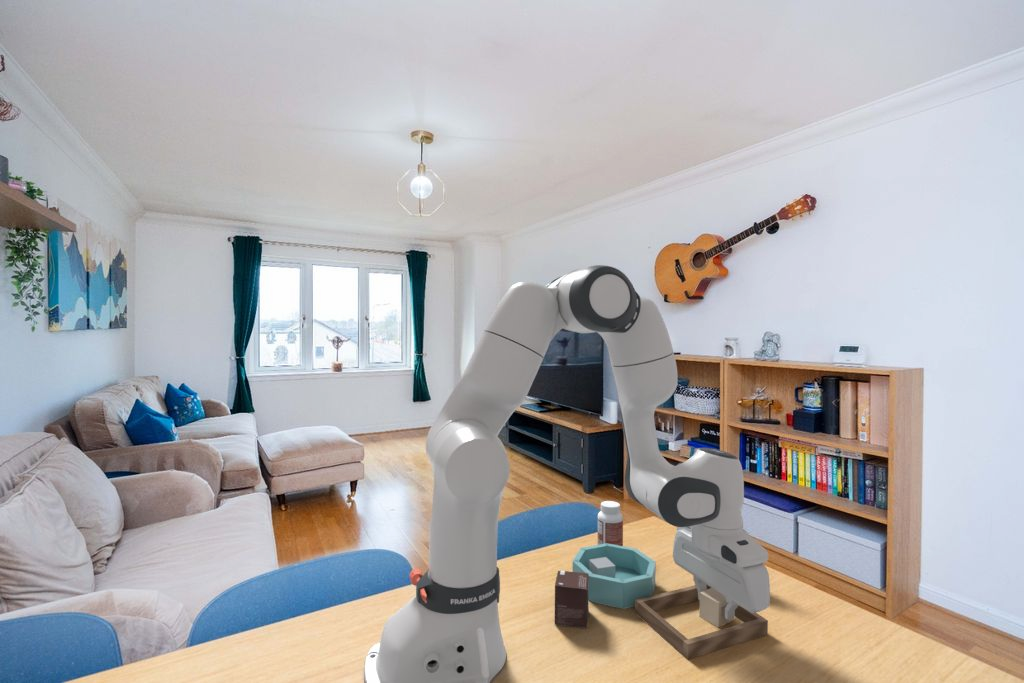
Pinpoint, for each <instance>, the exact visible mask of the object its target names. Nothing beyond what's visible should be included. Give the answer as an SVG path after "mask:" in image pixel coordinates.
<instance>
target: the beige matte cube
mask: <svg viewBox="0 0 1024 683" xmlns="http://www.w3.org/2000/svg"><path fill="white" fill-rule="evenodd" d="M727 605H728V602H726V596H724V595H723V594H721V593H720V592H718V591H717V590H715V589H714V588H710V589H707V590H705V591H703V592H700V600H699V614H698V615H699V617H700V618H701V619H703V620H705V621H707V622H708V623H710V624H712V625H713V626H715V627H717V628H721V627H722V626H724V625H726V624H729V623H731V622H732V621H733V620H729V621H728V620H727V619H726V618H724V617H723V616H722V615H721V613H722V611H721V607H723V606H725V607H726V606H727Z"/></svg>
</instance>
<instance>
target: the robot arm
mask: <svg viewBox="0 0 1024 683" xmlns="http://www.w3.org/2000/svg"><path fill="white" fill-rule="evenodd" d="M508 288H509V289H508V290H507V291H506V293H505V294H504V295H503V296H502V298H501V299H500V300H499V302H498V304H497V306H496V307H495V309H494V310H493V312H492V314H491V315H490V317H489V319H488V321H487V323H486V325H485V327H484V329H483V331H482V333H481V335H480V337H479V340H478V342H477V344H476V346H475V348H474V350H473V352H472V355H471V356H470V359H469V361H468V363H467V365H466V367H465V370H464V371H463V373H462V375H461V377H460V379H459V381H458V382H457V383H456V385H455V387H454V388H453V390H452V391H451V393H450V395H449V396H448V398H447V399H446V401H445V402H444V405H443V406H442V408H441V410H440V411H439V413H438V414H437V416H436V419H435V420H434V422H433V423H432V425H431V427H430V428H429V430H428V433H427V436H426V440H425V451H426V455H427V458H428V460H429V462H430V464H431V469H432V474H433V493H432V503H431V504H432V505H431V506H432V507H431V514H430V521H429V524H428V537H429V538H428V569H427V570H426V572H425V573H424V574H422V570H420V569H419V568H414V569H412V570H411V572H410V573H409V579H410V583H411V584H412V585H413V586H415V588H416V589H415V595H414V596H413V597H412V598H411V599H410V600H409V601H407V602H406V603H405V604H404V605H403V606H402V607H401V608H399V609H398V610H397V611H395V612H394V613H393V614H392V615H391V616H390V617H389V618H388V619H387V620H386V622H385V624H384V626H383V628H382V631H381V636H380V640H379V641H380V642H378V643H377V642H376V643H375V644H374V645H372V646H371V647H370V649H369V650H368V652H367V654H366V657H365V660H364V667H363V677H364V679H363V680H364V683H491V681H492V680H493V679H494V678H495V677H496V676H497V675H498V674H499V672H500V671H501V670H502V668H503V667H504V665H505V663H506V659H507V650H506V647H505V644H504V640H503V636H502V635H503V634H502V630H501V625H500V617H499V616H500V613H499V603H500V594H501V579H500V578H501V576H500V568H499V567H498V525H499V515H500V510H501V505H502V504H501V503H502V499H503V494H504V488H505V487H506V486H507V483H508V481H509V477H510V471H511V470H510V469H511V468H510V467H511V465H510V461H509V456H508V453H507V451H506V447H505V445H504V443H503V442H502V440H501V438H500V437H499V434H500V432H501V431H502V429H503V428H504V427H505V425H506V423H507V422H508V421H509V419H510V418H511V416H512V415H513V413H515V411H516V409H518V408H519V407H520V406H522V405H523V403H524V402H525V401H526V398H527V396H528V394H529V392H530V390H531V387H532V385H533V382H534V380H535V378H536V376H537V374H538V371H539V370H540V368H541V364H542V363H543V361H544V358H545V356H546V353H547V351H548V348H549V346H550V343H551V342H552V341H553V338H555V336H556V335H557V334H558V333H559V332H566V333H579V334H592V333H597V334H598V335H600V337H602V340H603V341H604V343H605V345H606V348H607V350H608V356H609V360H610V364H611V370H612V373H613V374H612V375H613V377H614V382H615V387H616V390H617V395H618V403H619V414H620V420H621V425H622V426H621V427H622V431H623V438H624V444H625V450H626V465H625V473H624V487H625V489H626V492H627V494H628V495H629V497H630V498H631V499H632V500H633V501H634V502H636V503H638V504H639V505H641V506H643V507H645V508H647V509H648V510H649V511H651V512H652V513H653V514H655V515H656V517H659V518H660V519H661V520H662V521H664V522H666V523H668V524H669V525H671V526H673V527H676V532H675V535H674V540H673V545H672V558H673V561H674V563H675V565H677V566H678V567H680V568H681V569H683V570H684V571H686V572H687V573H689V574H691V575H692V576H693V583H694V585H696V588H697V591H698V599H699V600H698V601H700V592H703V591H705V590H707V587H706V584H707V585H709V586H711V587H712V588H714V589H715V590H717V591H718V592H720V593H721V594H723V595H724V596H726V602H728V605H727V606H726V607H725V606H723V607H721V611H722V613H721V615H722V616H723V617H724V618H726V619H727V620H728V621H729V620H732V621H733V620H734V619H735V618H736V617H735V610H736V608H737V607H738V606H739V605H740V606H741V607H743V608H744V609H746V610H747V611H749V612H751V613H759V612H760V613H761V612H762V611H765V610H767V609H768V607H769V606H770V601H771V600H770V599H771V584H770V583H771V581H770V576H769V571H768V569H767V567H766V565H765V564H764V563H766V562H768V561H769V552H768V550H766V548H765V547H764V546H762V545H761V544H760V543H759V542H758V541H757V540H756V539H754V537H752V535H750V533H749V532H748V531H747V530H746V529H744V519H743V516H742V507H743V505H744V501H745V500H744V498H745V490H744V489H745V487H744V486H745V482H744V481H745V480H744V472H743V471H744V470H743V467H742V463H741V461H740V459H739V458H738V457H737V456H736V455H734V454H732V453H729V452H728V451H724V450H720V449H718V448H712V447H699V448H697V450H696V451H695V453H694V454H693V455H692V456H691V457H690V458H689V459H687V460H685V461H683V462H682V463H679V464H677V465H673V464H671V463H669V461H667V460H666V458H664V456H663V455H662V453H661V451H660V448H659V441H658V435H657V430H656V428H657V427H656V423H655V411H656V409H657V407H658V406H660V405H662V404H664V403H665V402H667V401H668V400H669V399H670V398H671V397H672V396H673V394H674V393H675V392H676V389H677V387H678V378H679V377H678V367H677V361H676V357H675V353H674V350H673V345H672V340H671V338H670V335H669V332H668V329H667V326H666V324H665V321H664V318H663V316H662V314H661V311H660V310H659V307H658V305H657V304H656V303H655V302H654V301H652V299H649V298H647V297H642V296H640V295H639V294H638V292H637V291H636V290H635V288H634V285H633V284H632V281H631V280H630V279H629V277H628V276H627V275H626V274H625V273H624V272H623V271H621V270H620V269H618V268H616V267H613V266H609V265H602V264H601V265H591V266H588V267H585V268H580V269H575V270H572V271H570V272H567V273H566V274H564V275H562V276H559V277H557V278H555V279H553V280H552V281H551V282H549V283H548V284H547V285H543V284H540V283H538V282H534V281H519V282H516V283H514V284H513V285H512V286H510V287H508Z"/></svg>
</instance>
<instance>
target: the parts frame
mask: <svg viewBox="0 0 1024 683" xmlns="http://www.w3.org/2000/svg"><path fill="white" fill-rule="evenodd" d="M706 587H707V589H710V588H712V587H711V586H709V585H707V584H706ZM696 601H700V600H699V599H698V591H697V588H696V585H695V584H693V585H691V586H690V585H689V586H686V587H682V588H677V589H674V590H670V591H666V592H662V593H657V594H653V596H649V597H644V598H640V599H636V600H635V606H634V613H635V614H636V615H637V616H638V617H639V618H640V619H641V620H642V621H644V623H646V624H647V625H648V626H649V627H650V628H652V630H654V631H655V632H656V633H657V634H658V635H659V636H660V637H661V638H663V639H664V640H665V641H666V642H667V643H668V644H669V645H670V646H672V647H673V648H674V649H675V650H677V651H678V653H680V654H681V655H682V656H683V657H684V658H685V659H686V660H688V661H689V660H690V659H693V658H696V657H697V658H698V657H700V656H702V655H706V654H710V653H713V652H716V651H719V650H722V649H724V648H729V647H731V646H735V645H738V644H742V643H744V642H748V641H750V640H754V639H757V638H760V637H764V636H767V635H768V634H769V633H768V632H769V631H768V630H769V629H768V628H769V624H768V623H769V621H768V619H767V618H765V617H763V615H760V614H759V613H758V612H756V613H751V612H749V611H747V610H746V609H744V608H743V607H741V606H740V605H739V606H738V607H737V608H736V610H735V618H737V619H739V620H740V621H741V622H742V623H739V624H735V625H731V626H728V627H725V628H722V629H717V630H716V631H712V632H708V633H706V634H702V635H698V636H695V637H691V638H688V637H686V636H685V635H684V634H682V633H681V632H680V631H679V630H678V629H676V628H675V626H673V625H672V624H670V622H669V621H668V620H665V619H664V618H663V617H662V616H661V615H660V614H658V613H657V612H658V611H662V610H666V609H668V608H672V607H677V606H681V605H685V604H689V603H692V602H696Z"/></svg>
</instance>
